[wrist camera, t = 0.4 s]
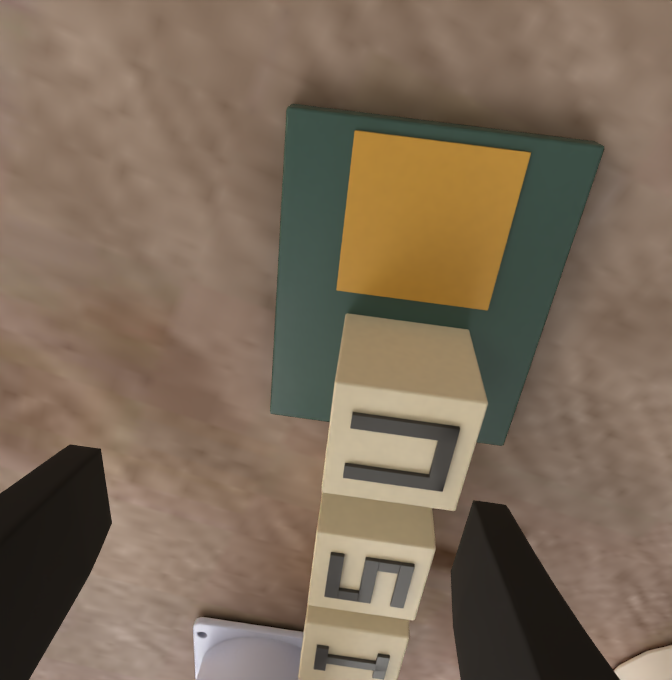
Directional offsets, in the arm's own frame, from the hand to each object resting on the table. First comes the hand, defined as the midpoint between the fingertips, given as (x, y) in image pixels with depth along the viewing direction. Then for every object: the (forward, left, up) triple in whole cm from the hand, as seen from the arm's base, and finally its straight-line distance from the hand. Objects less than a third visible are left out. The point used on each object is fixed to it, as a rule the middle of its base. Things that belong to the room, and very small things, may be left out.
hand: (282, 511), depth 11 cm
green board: (+1, -3, -10) cm, 10 cm away
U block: (-2, -3, -9) cm, 10 cm away
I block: (-14, -3, -10) cm, 18 cm away
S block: (-9, -3, -10) cm, 14 cm away
